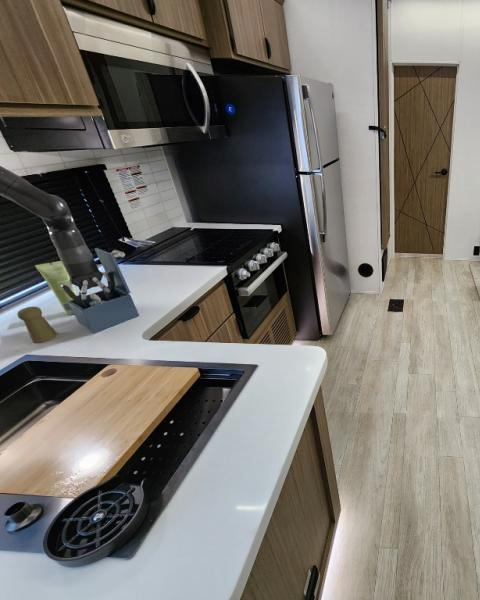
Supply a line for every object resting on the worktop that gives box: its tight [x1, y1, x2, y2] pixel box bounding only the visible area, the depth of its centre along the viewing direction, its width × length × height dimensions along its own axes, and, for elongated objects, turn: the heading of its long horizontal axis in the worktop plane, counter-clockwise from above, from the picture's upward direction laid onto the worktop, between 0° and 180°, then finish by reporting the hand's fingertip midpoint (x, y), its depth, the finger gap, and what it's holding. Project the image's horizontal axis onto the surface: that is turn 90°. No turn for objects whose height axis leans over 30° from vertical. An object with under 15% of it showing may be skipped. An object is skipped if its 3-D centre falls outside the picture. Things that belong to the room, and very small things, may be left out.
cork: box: [17, 306, 58, 344], centre depth 106 cm, size 6×6×11 cm
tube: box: [34, 260, 78, 315], centre depth 119 cm, size 6×5×20 cm
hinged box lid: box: [94, 247, 131, 294], centre depth 117 cm, size 14×13×5 cm
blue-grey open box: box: [67, 287, 140, 335], centre depth 116 cm, size 14×13×9 cm
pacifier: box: [90, 292, 107, 307], centre depth 114 cm, size 7×6×6 cm
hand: (100, 304), depth 115 cm, fingers closed on pacifier, 5 cm apart
